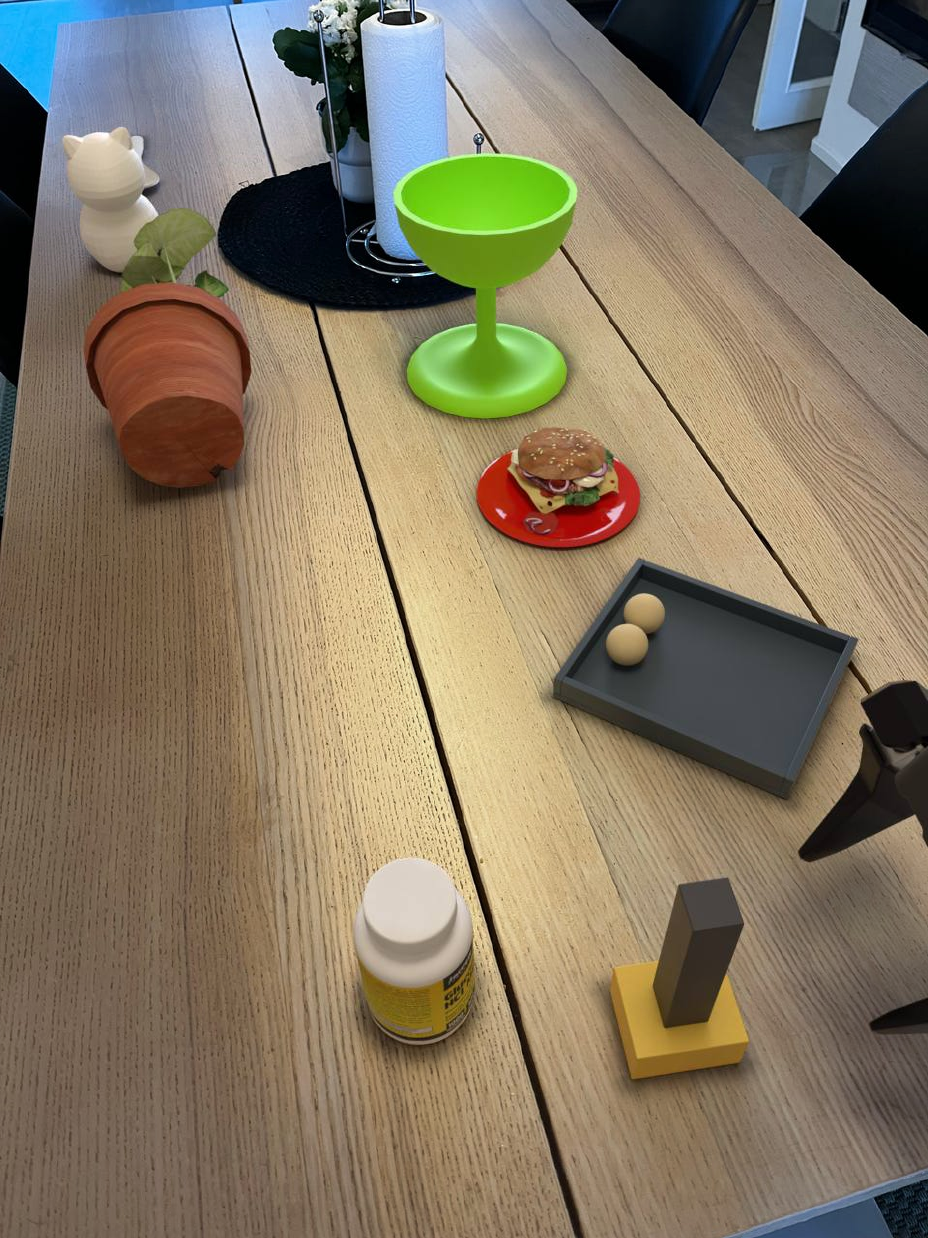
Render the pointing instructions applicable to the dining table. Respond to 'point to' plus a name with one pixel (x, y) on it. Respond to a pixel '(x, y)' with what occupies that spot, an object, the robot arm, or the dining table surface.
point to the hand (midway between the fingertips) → (836, 938)
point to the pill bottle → (415, 951)
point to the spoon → (150, 175)
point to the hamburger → (558, 490)
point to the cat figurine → (108, 194)
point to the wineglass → (486, 276)
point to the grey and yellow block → (684, 989)
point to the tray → (713, 677)
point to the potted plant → (171, 359)
